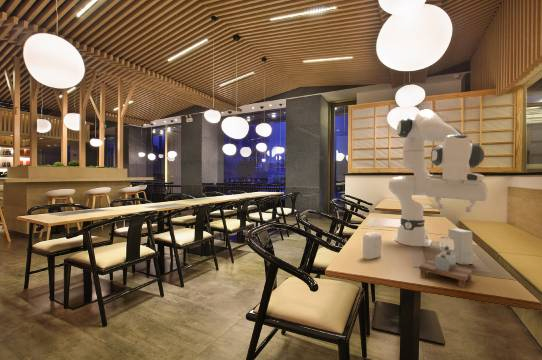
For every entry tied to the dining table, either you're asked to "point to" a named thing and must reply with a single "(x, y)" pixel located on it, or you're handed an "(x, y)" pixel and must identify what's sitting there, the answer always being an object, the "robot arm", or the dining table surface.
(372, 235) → the photo printer
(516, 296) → the dining table surface
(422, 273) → the stand
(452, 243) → the wineglass
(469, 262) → the skincare box
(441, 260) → the plate
